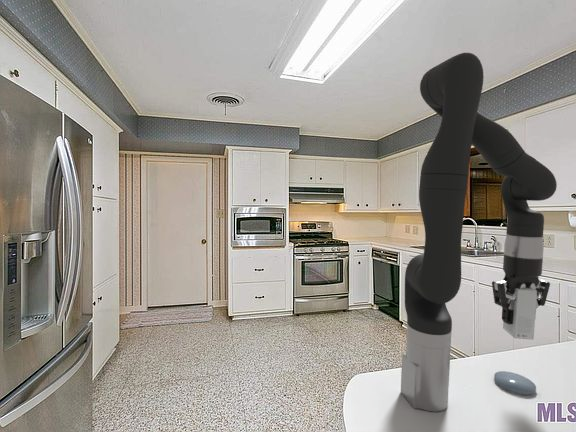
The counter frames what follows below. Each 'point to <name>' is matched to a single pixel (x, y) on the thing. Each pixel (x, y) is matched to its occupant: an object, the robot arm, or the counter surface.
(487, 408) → the counter surface
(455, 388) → the counter surface
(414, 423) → the counter surface
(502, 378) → the slate dish
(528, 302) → the skincare box
